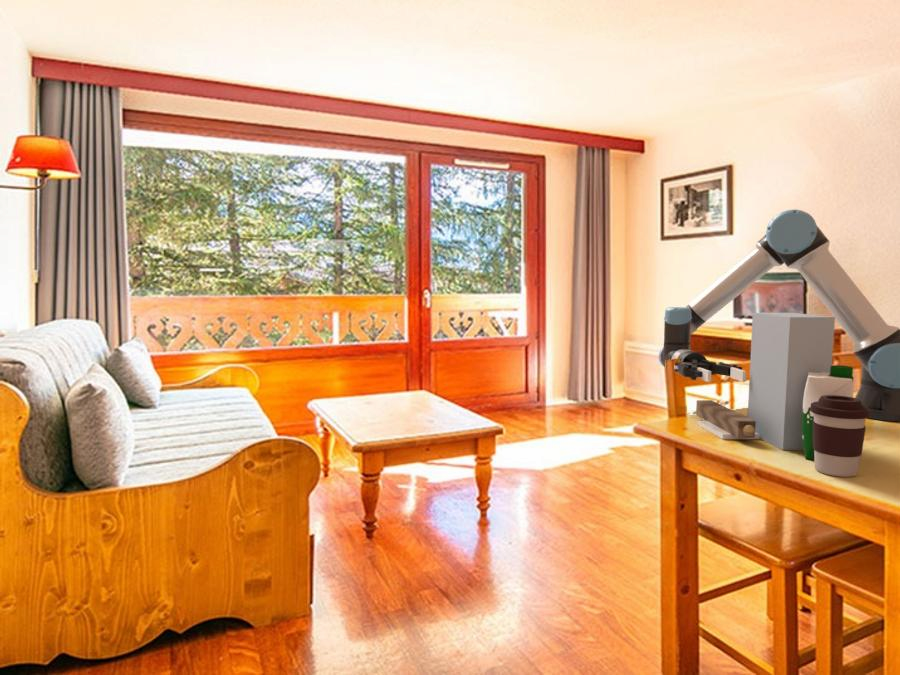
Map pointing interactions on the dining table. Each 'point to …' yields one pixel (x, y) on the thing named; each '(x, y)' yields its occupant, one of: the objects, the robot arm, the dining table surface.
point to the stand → (785, 371)
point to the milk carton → (819, 386)
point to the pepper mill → (726, 419)
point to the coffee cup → (838, 434)
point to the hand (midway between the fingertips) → (726, 376)
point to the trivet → (721, 431)
